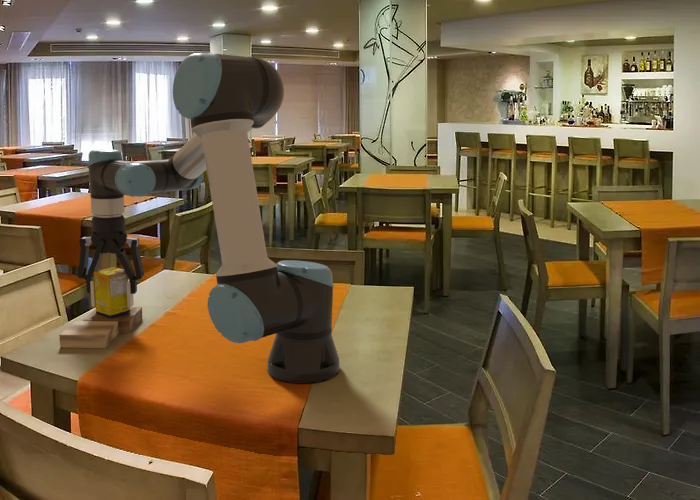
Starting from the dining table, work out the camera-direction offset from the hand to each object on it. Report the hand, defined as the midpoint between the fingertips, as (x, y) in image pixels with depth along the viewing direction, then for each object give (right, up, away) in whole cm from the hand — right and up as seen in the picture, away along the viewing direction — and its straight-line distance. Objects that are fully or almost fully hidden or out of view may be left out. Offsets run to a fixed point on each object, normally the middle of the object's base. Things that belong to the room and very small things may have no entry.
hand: (112, 305), depth 166 cm
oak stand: (-2, -7, -10) cm, 12 cm away
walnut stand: (0, -5, +1) cm, 5 cm away
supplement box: (0, -2, 0) cm, 2 cm away
